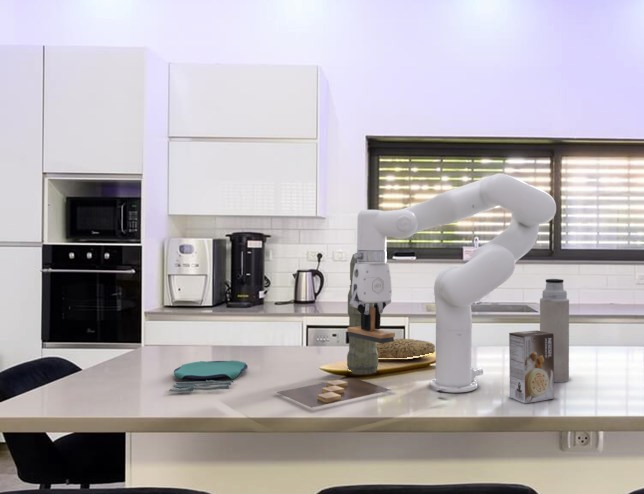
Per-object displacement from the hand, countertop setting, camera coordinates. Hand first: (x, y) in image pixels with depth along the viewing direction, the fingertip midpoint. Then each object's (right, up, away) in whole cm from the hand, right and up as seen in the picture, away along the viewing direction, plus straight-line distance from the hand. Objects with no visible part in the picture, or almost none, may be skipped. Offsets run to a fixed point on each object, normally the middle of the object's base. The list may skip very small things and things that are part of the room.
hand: (370, 328), depth 143 cm
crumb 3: (-9, -15, -12) cm, 21 cm away
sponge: (+7, -16, +38) cm, 42 cm away
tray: (-9, -16, -4) cm, 19 cm away
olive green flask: (-4, -16, +17) cm, 24 cm away
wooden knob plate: (0, -3, 0) cm, 3 cm away
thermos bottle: (+51, -16, +13) cm, 55 cm away
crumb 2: (-9, -15, -6) cm, 18 cm away
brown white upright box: (+40, -16, -7) cm, 44 cm away
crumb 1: (-9, -15, 0) cm, 17 cm away
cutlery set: (-46, -16, +11) cm, 50 cm away
